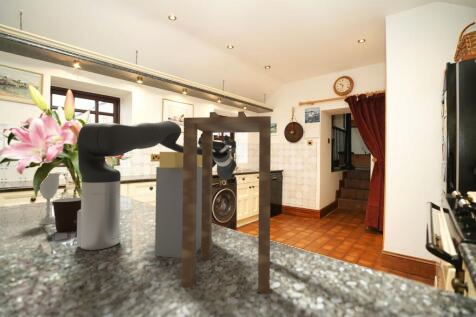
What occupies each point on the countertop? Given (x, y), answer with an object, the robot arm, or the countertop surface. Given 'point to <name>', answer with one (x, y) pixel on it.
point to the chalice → (49, 195)
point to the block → (173, 211)
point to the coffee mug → (66, 214)
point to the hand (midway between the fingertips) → (214, 135)
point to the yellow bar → (174, 160)
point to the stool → (190, 189)
